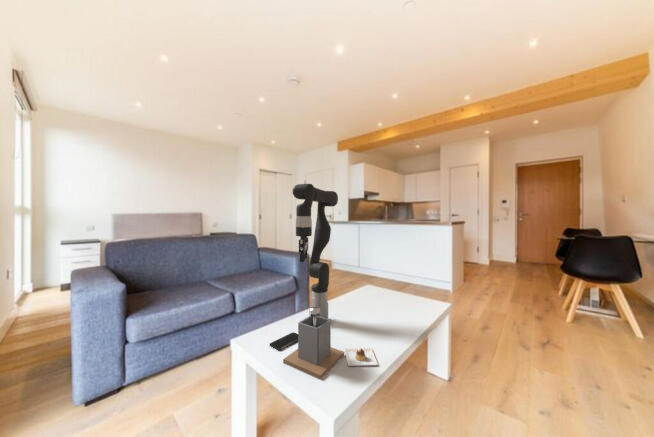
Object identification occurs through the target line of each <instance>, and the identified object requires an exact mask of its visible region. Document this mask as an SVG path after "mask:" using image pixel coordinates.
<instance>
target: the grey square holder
mask: <svg viewBox="0 0 654 437" xmlns="http://www.w3.org/2000/svg"><path fill="white" fill-rule="evenodd" d="M331 322H332V321H331V319H329V318H328V319H326V318H323V317H319V316H316V327H313V316H310V315H309V316H307V317H305V318H304V319H302V320H300V321H299V322H298V323H297V327H298V328H297V329H298V330H297V334H298V342H297V349H295V350H294V351H293V352H292V353H290V354H289V355H287V356H286V357H284V358H282V363H283V364H285V365H287V366H289V367H292V369H293V368H294V369H296V370H298V371H300V372H303V373H304V374H307V375H309V376H311V377H314V378H315V379H318V380H321V379H323V377H324V376H325V375H327V373H328V372H329V371H330V370H331V369H332V368H333V367H334V366H336V364H337V363H338V362H340V360H342V359H343V357H344V356H345V351H343V350H340V349H337V348H335V347H332V346H331V338H332V336H331V335H332V334H331V331H332V330H331V328H332V327H331V324H332V323H331Z"/></svg>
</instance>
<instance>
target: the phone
mask: <svg viewBox="0 0 654 437" xmlns="http://www.w3.org/2000/svg"><path fill="white" fill-rule="evenodd" d="M296 342H297V343H298V332H297V333H296V332H290V333H288V334H286V335H284V336H282V337H279V338H277V339H276V340H274V341H271V342H270V343H269V347H270V346H271V347H270V348H272V347H273V349H274V348H275V349H276V350H275V349H274V350H275V351H277V350H278V351H277V352H281V350H282V351H284V350H285V348H286V349H288V348H289V347H292V346H293V345H295V344H297V343H296Z"/></svg>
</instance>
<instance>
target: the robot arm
mask: <svg viewBox="0 0 654 437" xmlns="http://www.w3.org/2000/svg"><path fill="white" fill-rule="evenodd" d="M292 195H293V197H294V198H295V199H298V200H304V201H303V202H302V203H299V204H297V205H296V218H295V236H296V237H300V238H299V239H298V253H299V262H300V263H305V262H306V259H308V251H309V237H312V236H313V235H312V234H313V233H312V232H313V231H312V230H313V228H312V225H313V224H312V222H313V221H312V207H313V202H315V203H317V213H316V221H315V228H314V236H313V243H312V251H311V255H310V259H309V264H308V271H307V272H308V275H309V277H310V278H314V279H318V282H317V283H314V284H312V285H311V287H310V288H311V290H310V291H311V298H310V299H311V302H310V303H311V307H314V306H316V307H320V315H319V317H323V318H326V319H329V302H328V300H329V299H328V297H329V293H328V292H329V291H328V289H329V284H330V266H329V264H328V263H327V262H324V261H323V262H322V261H320V260H321V255H322V252H323V251H324V249H325V248H326V247H327V246H328V244H329V243H330V240H331V233H332V232H331V231H332V228H331V225H330V223H329V221H328V218H327V216H326V212H325V211H326V210H325V208H326V207H335V206H337V205H338V202H339V196H338V193H337V192H336V191H334V190H323V189H320V188H317V187H315V186H314V185H313V184H312V183H298V184H295V185H294V186H293V187H292Z"/></svg>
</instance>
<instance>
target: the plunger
mask: <svg viewBox="0 0 654 437" xmlns="http://www.w3.org/2000/svg"><path fill="white" fill-rule="evenodd" d="M308 309H309V310H308V313H309V316H313V327H316V316H319V315H320V307H316V306H314V307H309V308H308Z"/></svg>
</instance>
